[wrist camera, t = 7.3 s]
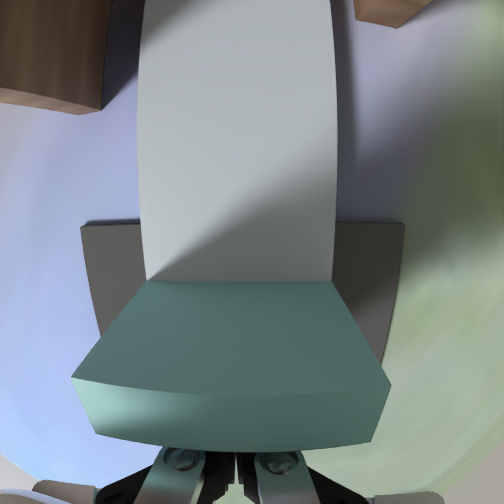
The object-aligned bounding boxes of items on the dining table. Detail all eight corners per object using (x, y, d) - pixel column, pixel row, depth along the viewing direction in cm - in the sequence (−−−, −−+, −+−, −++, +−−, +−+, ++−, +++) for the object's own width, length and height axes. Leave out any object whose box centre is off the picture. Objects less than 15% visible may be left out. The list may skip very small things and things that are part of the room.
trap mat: (401, 223, 12) (404, 224, 12) (360, 422, 16) (361, 425, 15) (83, 225, 12) (80, 226, 12) (130, 420, 16) (128, 423, 15)
